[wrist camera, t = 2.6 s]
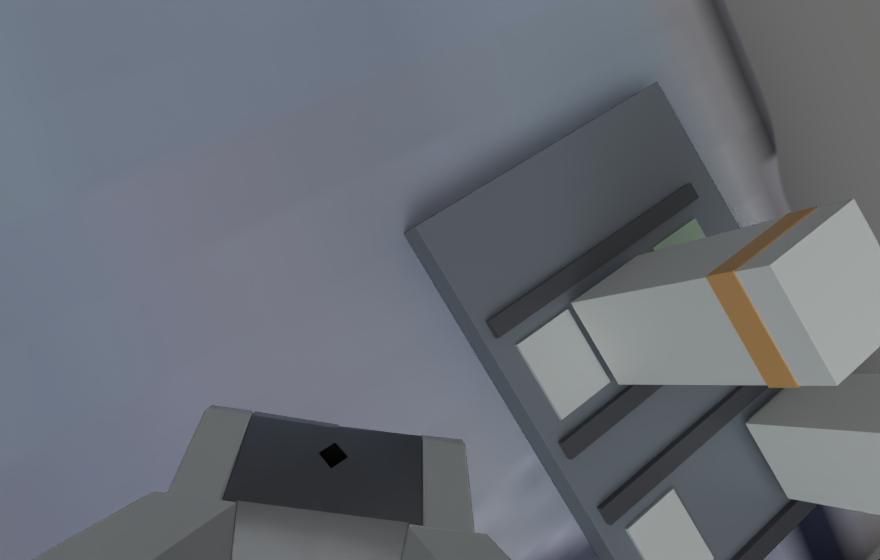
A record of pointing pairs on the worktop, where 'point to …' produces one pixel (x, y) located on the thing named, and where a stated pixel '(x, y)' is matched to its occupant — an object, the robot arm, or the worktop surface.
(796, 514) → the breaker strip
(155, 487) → the worktop surface
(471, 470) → the worktop surface
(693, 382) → the breaker toggle
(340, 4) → the worktop surface
